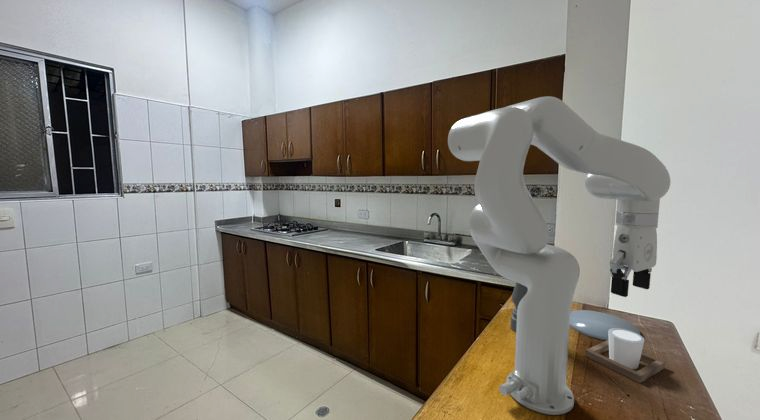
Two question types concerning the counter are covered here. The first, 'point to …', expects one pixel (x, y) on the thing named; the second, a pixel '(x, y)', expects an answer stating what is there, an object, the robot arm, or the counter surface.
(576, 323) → the plate
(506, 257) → the robot arm
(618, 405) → the counter surface
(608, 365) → the pocket frame
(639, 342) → the shot glass
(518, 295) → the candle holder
